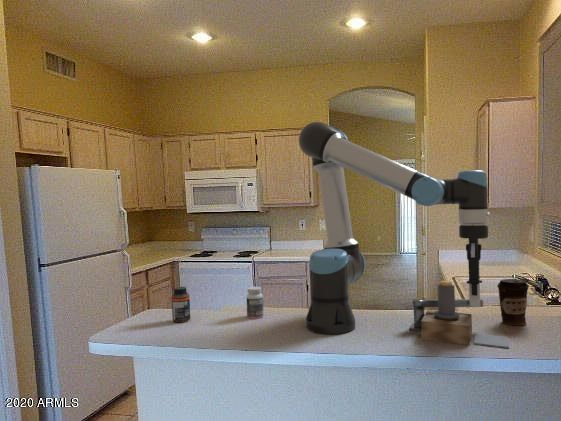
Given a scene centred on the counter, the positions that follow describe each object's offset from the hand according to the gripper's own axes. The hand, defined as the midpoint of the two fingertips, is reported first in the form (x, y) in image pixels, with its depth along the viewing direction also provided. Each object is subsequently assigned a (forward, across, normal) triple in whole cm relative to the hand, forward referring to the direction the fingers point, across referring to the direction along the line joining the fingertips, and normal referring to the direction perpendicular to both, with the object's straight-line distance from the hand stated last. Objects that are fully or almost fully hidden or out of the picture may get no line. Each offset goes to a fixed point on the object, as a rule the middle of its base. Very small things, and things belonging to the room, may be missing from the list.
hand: (474, 305), depth 116 cm
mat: (+7, -8, -4) cm, 12 cm away
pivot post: (+7, -4, +15) cm, 17 cm away
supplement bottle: (+8, -25, +88) cm, 92 cm away
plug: (+7, -7, +7) cm, 12 cm away
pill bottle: (+8, -12, +68) cm, 69 cm away
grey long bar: (+1, -1, +7) cm, 7 cm away
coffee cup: (+7, +12, -10) cm, 17 cm away
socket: (+7, -7, +7) cm, 12 cm away
